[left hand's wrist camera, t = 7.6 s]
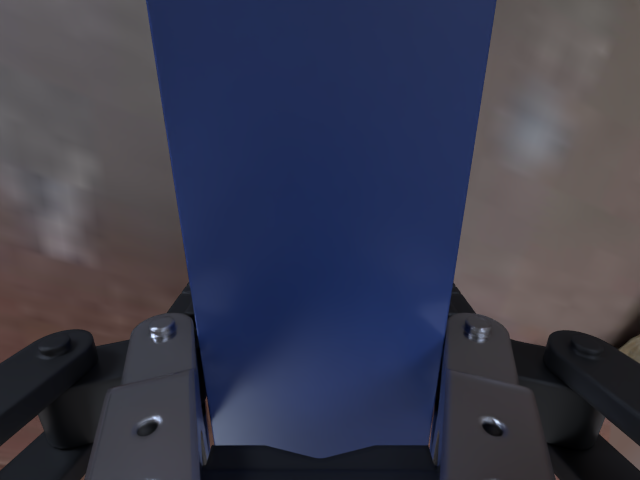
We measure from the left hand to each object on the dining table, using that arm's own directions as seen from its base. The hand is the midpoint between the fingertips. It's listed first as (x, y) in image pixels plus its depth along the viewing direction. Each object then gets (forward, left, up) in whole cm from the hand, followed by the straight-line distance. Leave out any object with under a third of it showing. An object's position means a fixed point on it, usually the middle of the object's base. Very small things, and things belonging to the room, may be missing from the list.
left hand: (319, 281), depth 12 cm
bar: (-9, +2, -5) cm, 10 cm away
